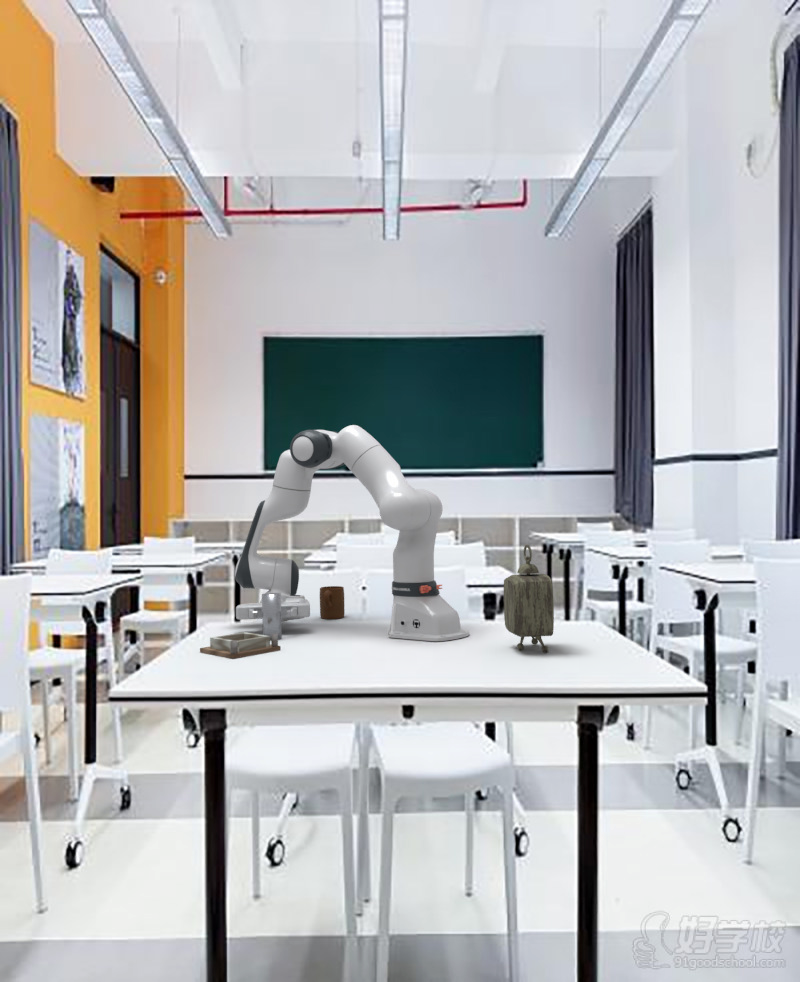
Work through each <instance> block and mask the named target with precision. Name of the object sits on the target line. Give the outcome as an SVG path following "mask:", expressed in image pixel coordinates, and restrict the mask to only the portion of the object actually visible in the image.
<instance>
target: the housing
mask: <svg viewBox="0 0 800 982" xmlns="http://www.w3.org/2000/svg"><path fill="white" fill-rule="evenodd" d="M209 643H210V644H209V646H206V647H200V648H199V653H202V654H208V655H213V656H217V657H221V658H228V659H232V660H236V659H239V658H245V657H250V656H257V655H260V654H261V655H262V654H267V653H272V652H278V651H281V645H279V640H278V634H276V633H275V634H271V641H270V636H266V635H263V634H261V633H260V634H259V633H252V632H246V631H244V632H238V633H237V632H236V633H232V634H224V635H220V636H219V635H218V636H213V637H210V638H209Z"/></svg>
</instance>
